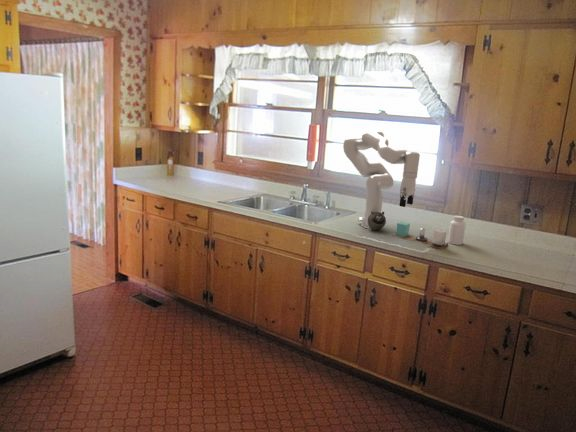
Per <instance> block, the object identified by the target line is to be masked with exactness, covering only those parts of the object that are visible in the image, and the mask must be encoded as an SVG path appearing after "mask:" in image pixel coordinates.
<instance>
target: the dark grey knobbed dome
mask: <svg viewBox="0 0 576 432" xmlns="http://www.w3.org/2000/svg"><path fill="white" fill-rule="evenodd" d="M425 233H426V228H425V227H420V230H419V236H417V235H416V236H417V237H416V240H417V241H421V242H426V241H427V239H428V238H427V237H425V235H426V234H425Z"/></svg>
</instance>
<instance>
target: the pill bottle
mask: <svg viewBox="0 0 576 432" xmlns="http://www.w3.org/2000/svg"><path fill="white" fill-rule="evenodd" d="M464 221H465V217H464V216H462V215H454V216H453V220H451V221H450V224H449V229H448V236H447V242H448V244H452V245H456V246H458V245H459V246H462V245H463V244H464V239H465V237H464V236H465V233H466V232H465V231H466V222H464Z"/></svg>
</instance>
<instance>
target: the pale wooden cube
mask: <svg viewBox="0 0 576 432" xmlns="http://www.w3.org/2000/svg"><path fill="white" fill-rule="evenodd" d="M446 237H447V230H443V229H438V228H436V229H433V230H432V238H431V240H432V245H434V246H437V247H443V246H444V243H446Z"/></svg>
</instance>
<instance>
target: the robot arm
mask: <svg viewBox="0 0 576 432" xmlns="http://www.w3.org/2000/svg"><path fill="white" fill-rule="evenodd" d="M342 147H343V152H344V154H345V155H346V158H347V159H348V160H349V161H350V162H351V163H352V164H353V166H354V168H355V169H356V170H357V171H358V173H359V174H360V175H361V176H362V177H363V178H367V179H366V185H365V186H366V199H365V209H364V217H358V222H361V224H360V226H361V227H362V228H364V229H369V228H370V229H372V228H371V227H370V226H369V225H368V217H369V216H370V215H371V211H372V212H380V213H382V210H383V209H382V208H383V200H384V199H383V198H384V197H383V194H382V191H388V190H390V189H392V188H393V186H394V178H393V177H392V174H390V172H389V171H388V170H387V168H386V167H385V166H384V165H383V163H381V162H379V161H373V160H371V161H370V160H369V159H368V158H367V157H366V156H365V154H364V153H362V152H361V151H365V150H368V149H369V150H370V149H371V148H372V149H373V150H375V151H377V153H378V156H379V157H380V158H382V160H384V161H386V162H388V163H389V164H391V165H403V172H402V180H401V182H400V183H401V184H400V189H399V204H398V205H399V207H403V208H405V207H406V205H410V206H411V205H413V203H414V197H415V191H416V183H417V182H416V180H417V179H418V170H419V164H420V163H419V162H420V157H421V156H420V153H419V152H416V151H409V150H405V149H392V148H390V147H389V140H388V139H387V138H386V137H385V135H384V133H383V131H381V130H379V129H367V130H364V131H363V132H362V133H361V135H353V136H352V135H351V136H348V137H346V138H345V139H344V141H343V146H342ZM406 198H407V199H406Z"/></svg>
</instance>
